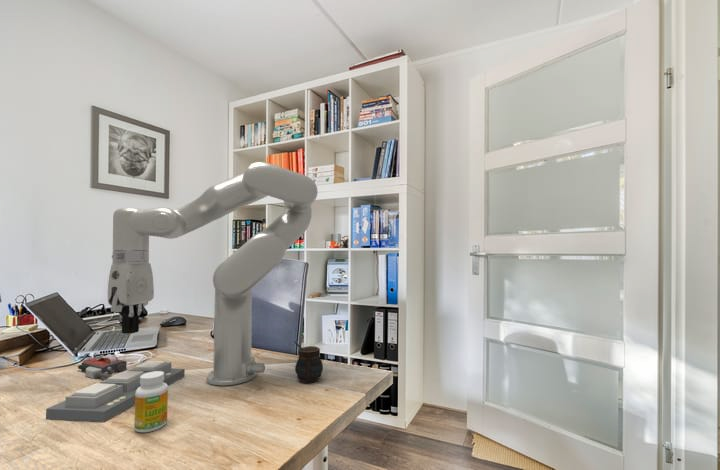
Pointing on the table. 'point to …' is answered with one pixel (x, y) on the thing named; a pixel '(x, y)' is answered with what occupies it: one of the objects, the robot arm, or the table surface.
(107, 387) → the button
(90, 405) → the button panel
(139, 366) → the button
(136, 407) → the supplement bottle
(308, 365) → the mate gourd
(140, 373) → the button
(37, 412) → the table surface
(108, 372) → the walkie-talkie
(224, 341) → the robot arm
